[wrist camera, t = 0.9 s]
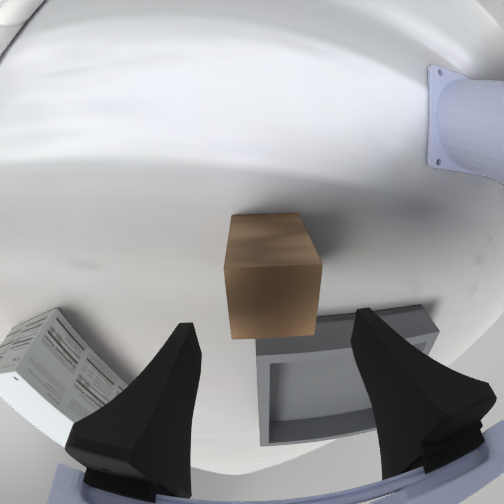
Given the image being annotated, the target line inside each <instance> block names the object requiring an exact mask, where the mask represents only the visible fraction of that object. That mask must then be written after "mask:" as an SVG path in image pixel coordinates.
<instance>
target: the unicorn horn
mask: <svg viewBox="0 0 504 504" xmlns="http://www.w3.org/2000/svg"><path fill="white" fill-rule="evenodd" d="M44 1H45V0H7V1H6V2H5V3H4V4H3V5H2V6H1V7H0V57H1V55H2V54H3V51H4V50H5V49H6V48H7V47H8V45H9V44H10V42H11V41H12V39H13V38H14V37H15V35H16V34H17V33H18V31H19V30H20V29H21V28H22V26H23V25H24V24H25V23H26V20H27V19H29V18H30V17H31V15H32V14H33V13H34V12H35V11H36V10H37V8H38V7H39V6H40V5H41V4H42V3H43V2H44Z"/></svg>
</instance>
